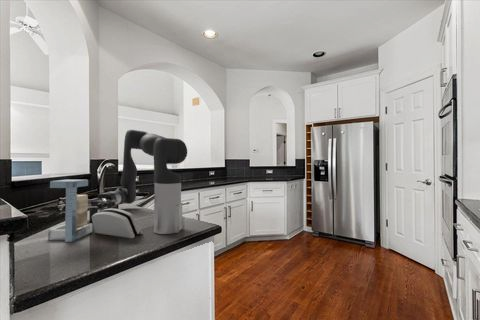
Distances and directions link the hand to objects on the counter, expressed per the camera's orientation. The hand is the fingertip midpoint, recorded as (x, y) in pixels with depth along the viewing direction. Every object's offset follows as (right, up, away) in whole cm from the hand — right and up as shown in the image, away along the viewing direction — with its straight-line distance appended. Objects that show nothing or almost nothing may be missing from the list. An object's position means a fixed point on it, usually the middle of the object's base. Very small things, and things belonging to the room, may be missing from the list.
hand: (87, 206), depth 95 cm
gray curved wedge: (+18, -7, -13) cm, 23 cm away
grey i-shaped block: (+4, -7, -16) cm, 18 cm away
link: (0, -7, -5) cm, 9 cm away
